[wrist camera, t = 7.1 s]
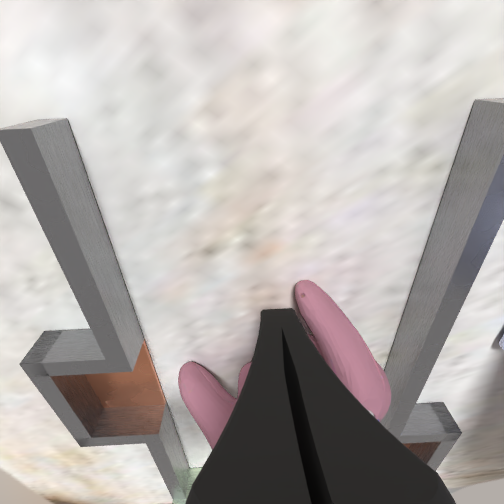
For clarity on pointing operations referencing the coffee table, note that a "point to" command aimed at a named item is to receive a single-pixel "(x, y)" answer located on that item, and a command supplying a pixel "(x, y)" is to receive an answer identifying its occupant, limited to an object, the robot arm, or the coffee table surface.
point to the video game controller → (329, 346)
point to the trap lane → (130, 335)
